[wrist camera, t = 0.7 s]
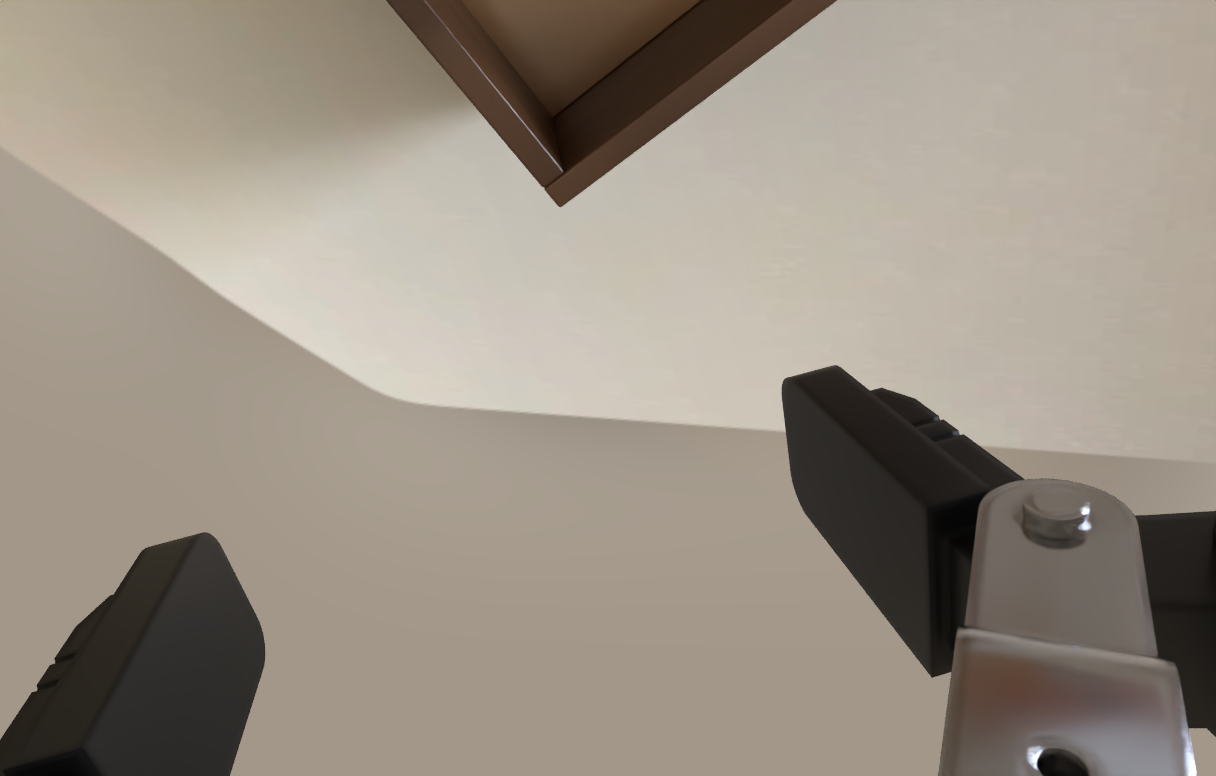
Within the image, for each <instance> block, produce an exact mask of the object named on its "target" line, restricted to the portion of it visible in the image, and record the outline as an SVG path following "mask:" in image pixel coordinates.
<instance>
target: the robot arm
mask: <svg viewBox="0 0 1216 776" xmlns="http://www.w3.org/2000/svg"><path fill="white" fill-rule="evenodd" d="M782 402H783V411H784V419H785V428H786V436H787V445H788V453H789V462H790V471H791V477H792V482H793V485H794V489H795V492H796V495H797V497H798V500H799V502H800V505H801V507H802V508H803V510H804V512H805V514H806V515H807V516H808V518H809V519H810V520H811V522H812V523H813V524H814V526H815V527H816V528H817V529H818V531H819V532H820V533H821V535H822V536H823V537H824V538H825V540H826V541H827V542H828V544H829V545H830V546H831V548H832V549H833V550H834V552H835V553H836V554H837V555H838V557H839V558H840V559H841V561H842V562H843V563H844V564H845V566H846V567H847V568H848V569H849V571H850V572H851V574H852V575H853V576H854V577H855V579H856V580H857V581H858V582H859V584H860V585H861V586H862V587H863V589H864V590H865V592H866V593H867V594H868V596H869V597H870V598H871V599H872V600H873V602H874V603H875V605H876V606H877V607H878V608H879V610H880V611H881V612H882V614H883V615H884V616H885V617H886V619H887V620H888V621H889V623H890V624H891V625H892V626H893V627H894V629H895V630H896V632H897V633H898V634H899V636H900V637H901V638H902V639H903V641H904V642H905V643H906V645H907V646H908V647H909V649H910V650H911V651H912V652H913V654H914V655H915V656H916V658H917V659H918V660H919V661H920V663H921V664H922V665H923V667H924V668H925V669H926V670H927V672H928V673H929V674H930V676H931V677H932V678H933V677H935V676H939V675H942V674H946V673H949V672H951V679H950V688H949V695H948V704H947V710H946V719H945V727H944V734H943V741H942V750H941V757H940V765H939V773H938V776H1197V774H1196V768H1195V763H1194V757H1193V752H1192V746H1191V740H1190V734H1189V728H1207V729H1208V730H1209V731H1210V732H1211V733H1212V734H1213V735H1214V736H1215V737H1216V511H1210V512H1193V513H1177V514H1160V515H1139V516H1134V514H1133V513H1132V511H1131V510H1130V509H1129V508H1128V507H1127V506H1126V505H1125V504H1124V503H1123V502H1121V501H1120V500H1118V499H1117V498H1116V497H1114V496H1112V495H1110V494H1108V493H1107V492H1105V491H1102V490H1100V489H1097V488H1095V487H1092V486H1089V485H1085V484H1082V483H1077V482H1073V481H1068V480H1060V479H1059V480H1058V479H1043V478H1041V479H1026V480H1025V479H1023V478H1022V477H1021V476H1019V475H1018V474H1016V473H1015V472H1014V471H1013V470H1011V469H1010V468H1009V467H1007V466H1006V465H1005V464H1003V463H1002V462H1000V461H999V460H998V459H996V458H995V457H994V456H992V455H991V454H990V453H988V452H987V451H985V450H984V449H983V448H981V447H980V446H979V445H977V444H976V443H975V442H973V441H972V440H971V439H969V438H968V437H966V436H965V435H964V434H963V435H960V434H959V432H958V430H957V429H956V428H954V427H953V426H952V425H950V424H949V423H947V422H946V421H945V420H940V419H939V416H938V415H937V414H935V413H934V412H932V411H931V410H930V409H928V408H927V407H926V406H924V405H923V404H922V403H920V402H919V401H918V400H916V399H914V398H911V397H908V396H905V395H902V394H899V393H896V392H893V391H890V390H886V389H883V388H879V389H875V390H872V391H870V390H868V389H867V388H866V387H865V386H863V385H862V384H861V383H859V382H858V381H857V380H856V379H854V378H853V377H852V376H851V375H849V374H848V373H847V372H846V371H844V370H843V369H842V368H841V367H839V366H836V365H834V366H830V367H826V368H822V369H818V370H815V371H811V372H807V373H803V374H800V375H796V376H792V377H788V378H786V379H784V381H783V384H782ZM264 662H265V643H264V636H263V632H262V628H261V625H260V622H259V620H258V618H257V616H256V614H255V612H254V610H253V608H252V606H251V604H250V602H249V600H248V598H247V596H246V594H245V592H244V590H243V589H242V586H241V584H240V582H239V580H238V579H237V577H236V575H235V572H234V571H233V569H232V567H231V565H230V563H229V561H228V559H227V557H226V555H225V553H224V551H223V549H222V547H221V545H220V543H219V542H218V541H217V539H216V538H215V537H214V536H212V535H211V534H209V533H200V534H196V535H192V536H188V537H184V538H181V539H177V540H173V541H170V542H166V543H162V544H158V545H155V546H151V547H148V548H145V549H144V550H142V552H141V553H140V554H139V556H138V557H137V559H136V560H135V562H134V564H133V565H132V567H131V568H130V570H129V571H128V573H127V575H126V576H125V578H124V579H123V581H122V582H121V584H120V586H119V587H118V589H117V590H116V592H115V593H114V595H110V596H109V597H108V598H107V599H106V600H105V601H104V602H103V603H101V604H100V605H99V606H98V607H97V608H96V609H95V610H94V611H93V612H91V613H90V614H89V615H88V616H87V617H86V618H85V619H84V620H83V621H82V622H80V623H79V624H78V625H77V626H76V627H75V629H74V630H73V632H72V633H71V635H70V636H69V638H68V639H67V641H66V642H65V644H64V645H63V647H62V648H61V650H60V651H59V653H58V654H57V656H56V657H55V664H52V665H50V666H49V668H48V669H47V671H46V672H45V674H44V675H43V677H42V678H41V680H40V681H39V683H38V684H37V688H38V690H37V691H36V692H32V693H31V695H30V696H29V698H28V699H27V701H26V702H25V704H24V705H23V707H22V708H21V710H20V711H19V713H18V714H17V715H16V717H15V719H14V720H13V722H12V724H11V725H10V726H9V727H8V729H7V730H6V732H5V733H4V735H3V736H2V738H1V740H0V776H230V773H231V770H232V767H233V763H234V760H235V757H236V754H237V750H238V748H239V744H240V741H241V738H242V735H243V732H244V729H245V725H246V722H247V719H248V715H249V713H250V709H251V706H252V703H253V700H254V697H255V693H256V690H257V687H258V684H259V681H260V678H261V674H262V671H263V667H264Z"/></svg>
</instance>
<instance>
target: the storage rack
mask: <svg viewBox="0 0 1216 776" xmlns="http://www.w3.org/2000/svg"><path fill="white" fill-rule="evenodd" d="M386 1H387V2H388V3H389V5H390V6H391V7H392V8H393V9H394V11H395V12H396V13H397V14H398V15H399V16H400V18H401V19H402V20H403V21H404V22H405V24H406V25H407V26H408V27H409V28H410V30H411V31H412V32H413V33H414V34H415V36H416V37H417V38H418V39H419V40H420V42H421V43H422V44H423V45H424V46H425V48H426V49H427V50H428V51H429V52H430V54H431V55H432V56H433V57H434V58H435V59H436V61H437V62H438V63H439V64H440V65H441V67H442V68H443V69H444V70H445V71H446V73H447V74H448V75H449V76H450V77H451V79H452V80H453V81H454V82H455V83H456V85H457V86H458V87H459V88H460V89H461V91H462V92H463V93H464V94H465V95H466V97H467V98H468V99H469V100H470V101H471V102H472V104H473V105H474V106H475V107H476V108H477V110H478V111H479V112H480V113H481V114H482V116H483V117H484V118H485V119H486V120H487V122H488V123H489V124H490V125H491V126H492V128H493V129H494V130H495V131H496V132H497V134H498V135H499V136H500V137H501V138H502V139H503V141H504V142H505V143H506V144H507V145H508V147H509V148H510V149H511V150H512V151H513V153H514V154H515V155H516V156H517V157H518V159H519V160H520V161H521V162H522V163H523V165H524V166H525V167H526V168H527V169H528V171H529V172H530V173H531V174H532V175H533V177H534V178H535V179H536V180H537V181H538V182H539V184H540V185H541V186H542V187H544V188H545V191H546V192H547V193H548V194H549V196H550V197H551V198H552V199H553V200H554V202H555V203H556V204H557V205H558V206H559V207H562V206H563V205H565V204H566V203H567V202H569V201H570V200H571V199H573V198H574V197H575V196H577V195H578V194H579V193H581V192H582V191H583V190H585V189H586V188H587V187H589V186H590V185H591V184H593V183H594V182H595V181H597V180H598V179H599V178H601V177H602V176H603V175H605V174H606V173H607V172H609V171H610V170H611V169H613V168H614V167H615V166H617V165H618V164H619V163H621V162H622V161H623V160H625V159H626V158H627V157H629V156H630V155H631V154H633V153H634V152H635V151H637V150H638V149H639V148H641V147H642V146H643V145H645V144H646V143H647V142H649V141H650V140H651V139H653V138H654V137H655V136H657V135H658V134H659V133H661V132H662V131H663V130H665V129H666V128H667V127H669V126H670V125H671V124H673V123H674V122H675V121H677V120H678V119H679V118H681V117H682V116H683V115H685V114H686V113H687V112H689V111H690V110H691V109H693V108H694V107H695V106H697V105H698V104H699V103H701V102H702V101H703V100H705V99H706V98H707V97H709V96H710V95H711V94H713V93H714V92H715V91H717V90H718V89H719V88H721V87H722V86H723V85H725V84H726V83H727V82H729V81H730V80H731V79H733V78H734V77H735V76H737V75H738V74H739V73H741V72H742V71H743V70H745V69H746V68H747V67H749V66H750V65H751V64H753V63H754V62H755V61H757V60H758V59H759V58H761V57H762V56H763V55H765V54H766V53H767V52H769V51H770V50H771V49H773V48H774V47H775V46H777V45H778V44H779V43H781V42H782V41H783V40H785V39H786V38H787V37H789V36H790V35H791V34H793V33H794V32H795V31H797V30H798V29H799V28H801V27H802V26H803V25H805V24H806V23H807V22H809V21H810V20H811V19H813V18H814V17H815V16H817V15H818V14H819V13H821V12H822V11H823V10H825V9H826V8H827V7H829V6H830V5H831V4H833V3H834V2H835V1H837V0H386Z"/></svg>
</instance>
